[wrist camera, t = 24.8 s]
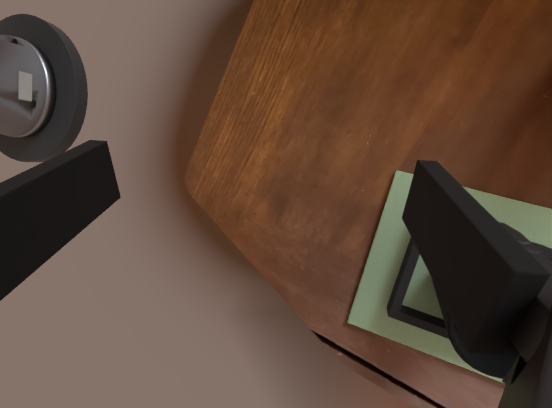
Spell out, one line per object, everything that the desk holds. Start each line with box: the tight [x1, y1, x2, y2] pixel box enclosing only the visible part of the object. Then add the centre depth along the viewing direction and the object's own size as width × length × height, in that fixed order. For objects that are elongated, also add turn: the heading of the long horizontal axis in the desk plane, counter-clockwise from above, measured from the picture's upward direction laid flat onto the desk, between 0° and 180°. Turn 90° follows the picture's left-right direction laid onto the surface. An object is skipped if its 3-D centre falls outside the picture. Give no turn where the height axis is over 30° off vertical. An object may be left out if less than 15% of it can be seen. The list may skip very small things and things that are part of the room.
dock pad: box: [347, 170, 552, 384], centre depth 34 cm, size 20×20×3 cm
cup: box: [432, 279, 520, 379], centre depth 29 cm, size 8×8×12 cm
